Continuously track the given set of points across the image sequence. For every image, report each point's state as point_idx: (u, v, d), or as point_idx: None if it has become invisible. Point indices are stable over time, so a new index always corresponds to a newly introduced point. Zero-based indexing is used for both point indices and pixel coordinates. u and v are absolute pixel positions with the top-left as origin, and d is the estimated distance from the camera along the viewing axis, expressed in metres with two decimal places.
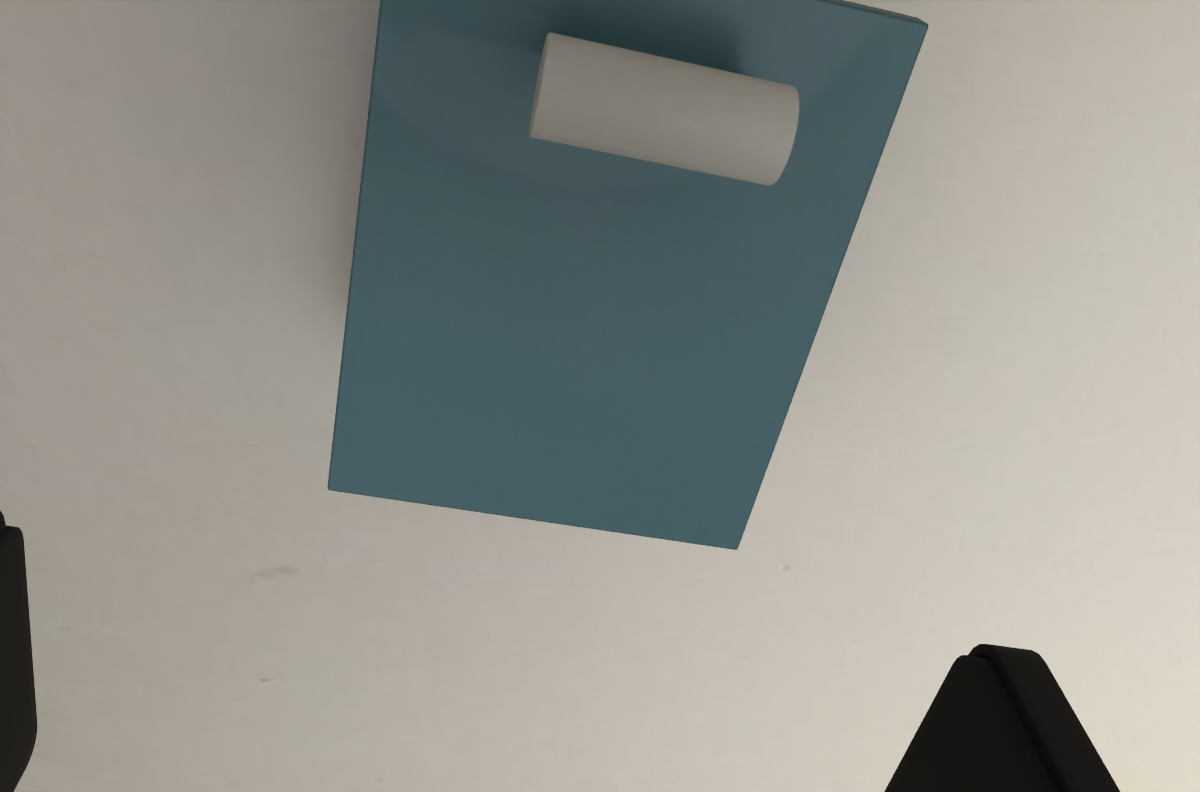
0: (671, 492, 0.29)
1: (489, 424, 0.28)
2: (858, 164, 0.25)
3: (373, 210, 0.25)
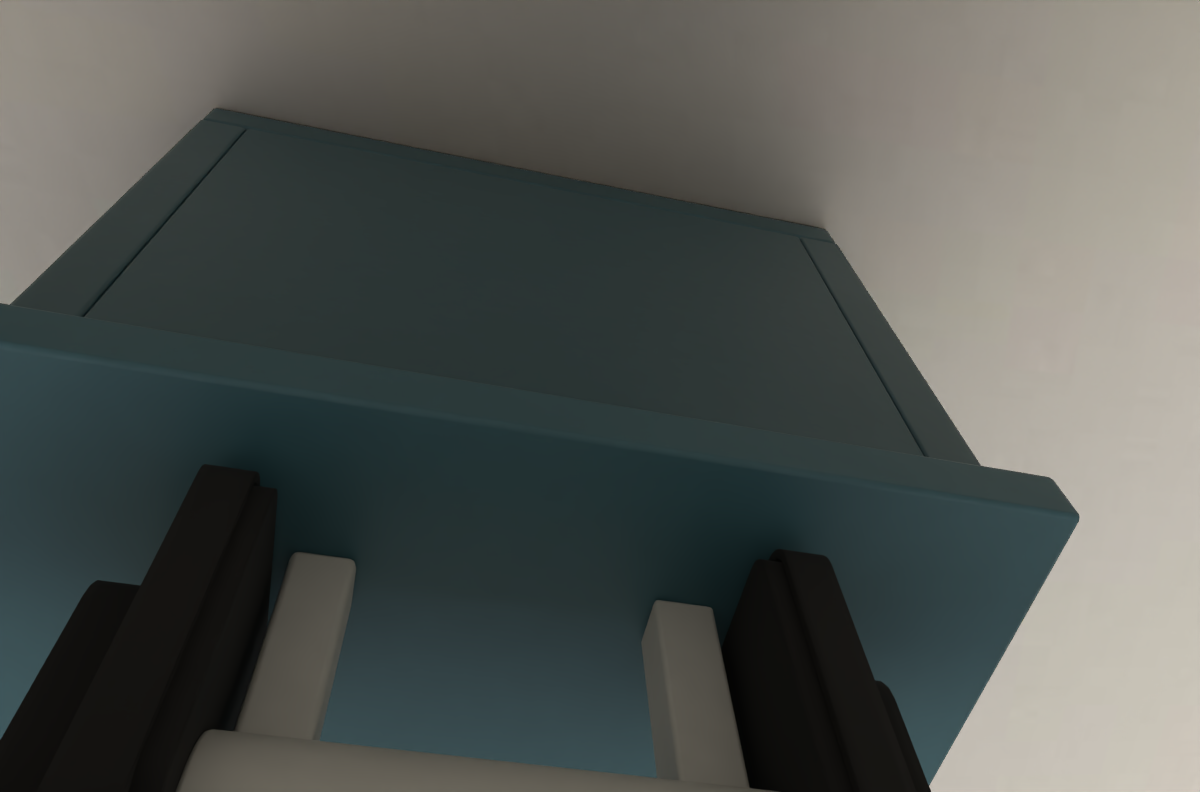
0: None
1: None
2: (927, 725, 0.13)
3: None
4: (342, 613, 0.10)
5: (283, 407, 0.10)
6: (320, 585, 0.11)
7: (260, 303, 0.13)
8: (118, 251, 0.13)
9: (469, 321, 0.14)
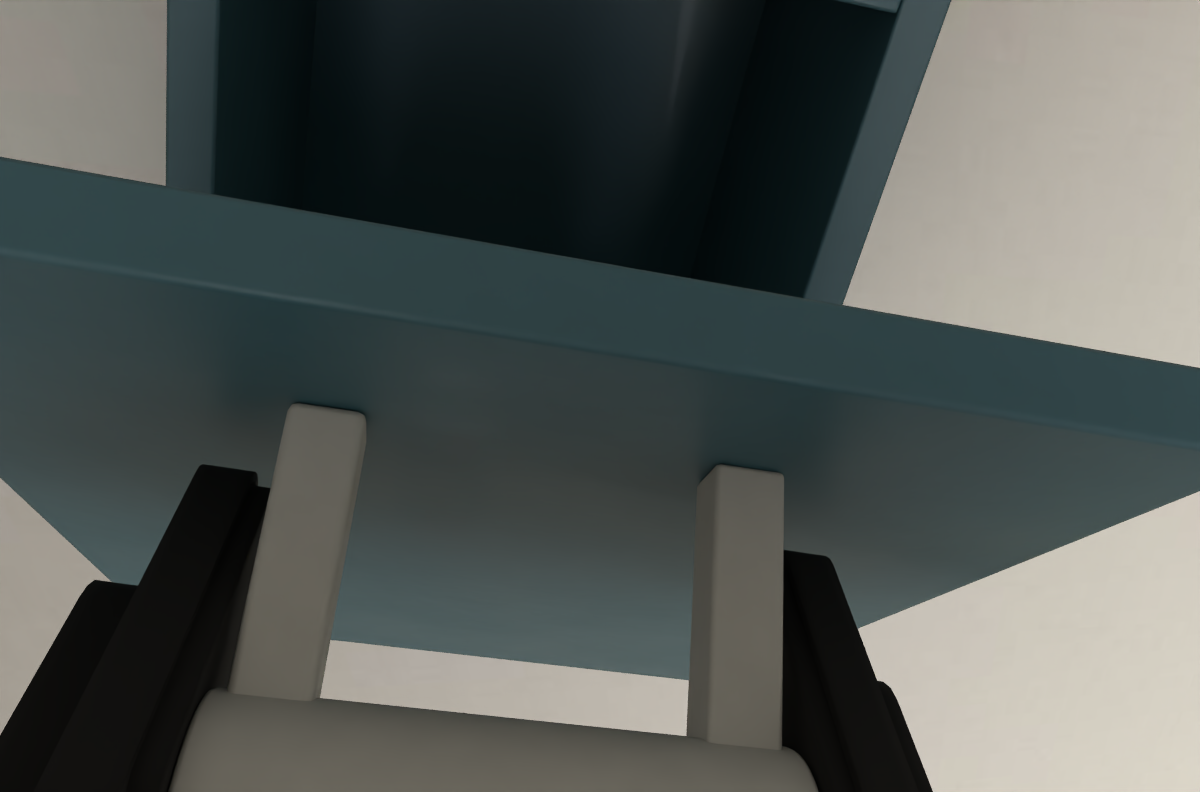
0: (629, 660, 0.21)
1: (353, 616, 0.19)
2: (1005, 550, 0.12)
3: (51, 503, 0.13)
4: (348, 501, 0.09)
5: (243, 304, 0.08)
6: (322, 460, 0.09)
7: None
8: None
9: None
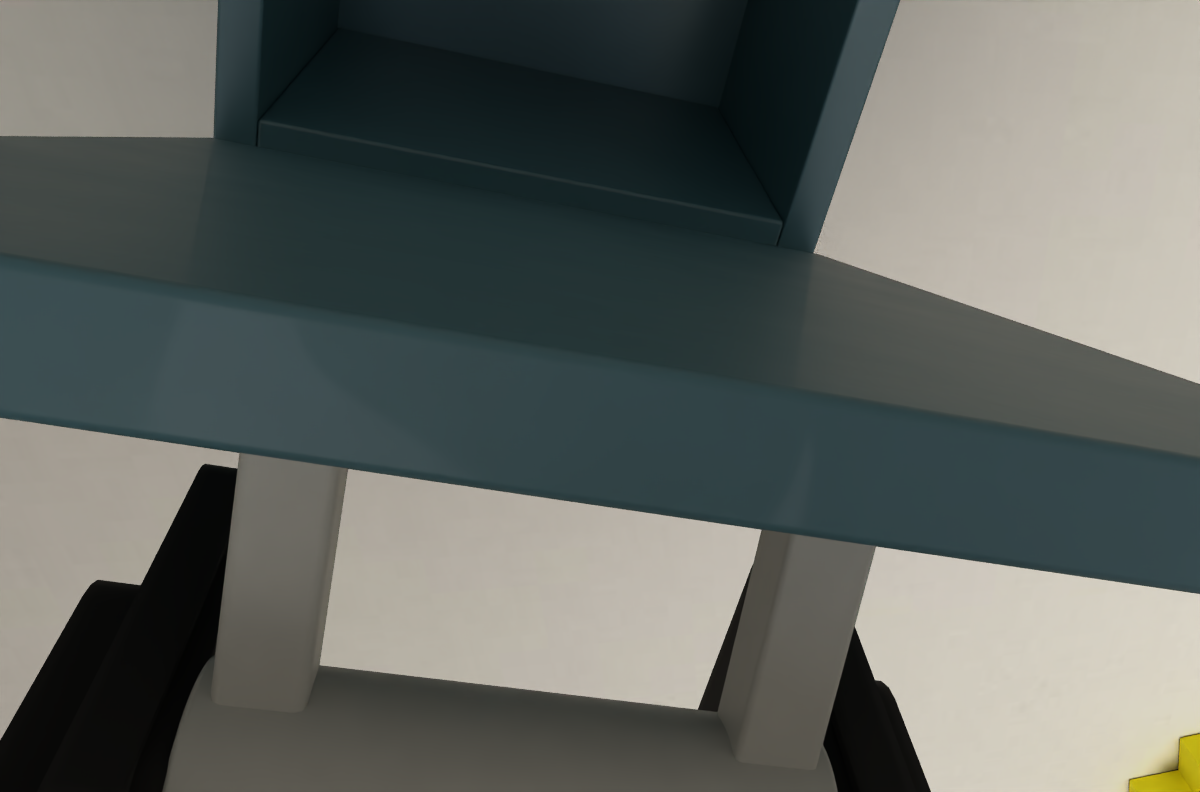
0: None
1: None
2: None
3: None
4: (333, 496, 0.07)
5: None
6: None
7: None
8: None
9: None
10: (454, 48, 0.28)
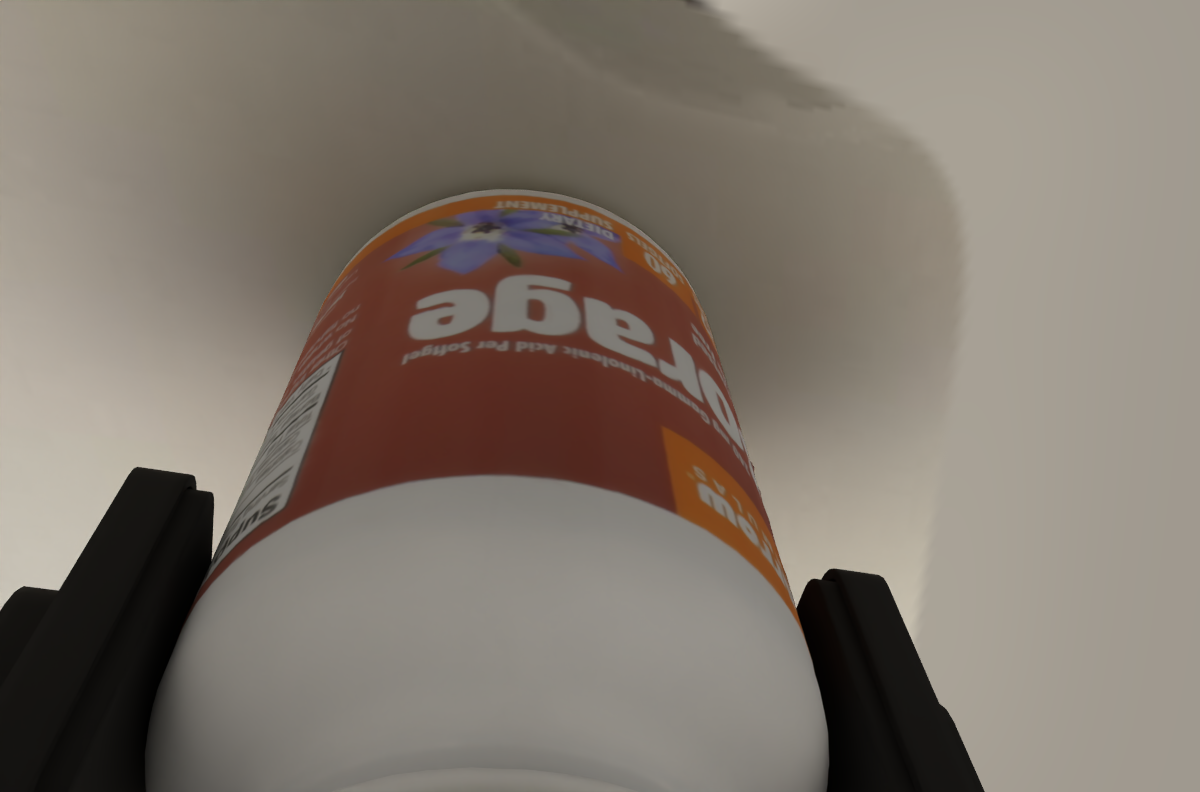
0: None
1: None
2: None
3: None
4: None
5: None
6: None
7: None
8: None
9: None
10: None
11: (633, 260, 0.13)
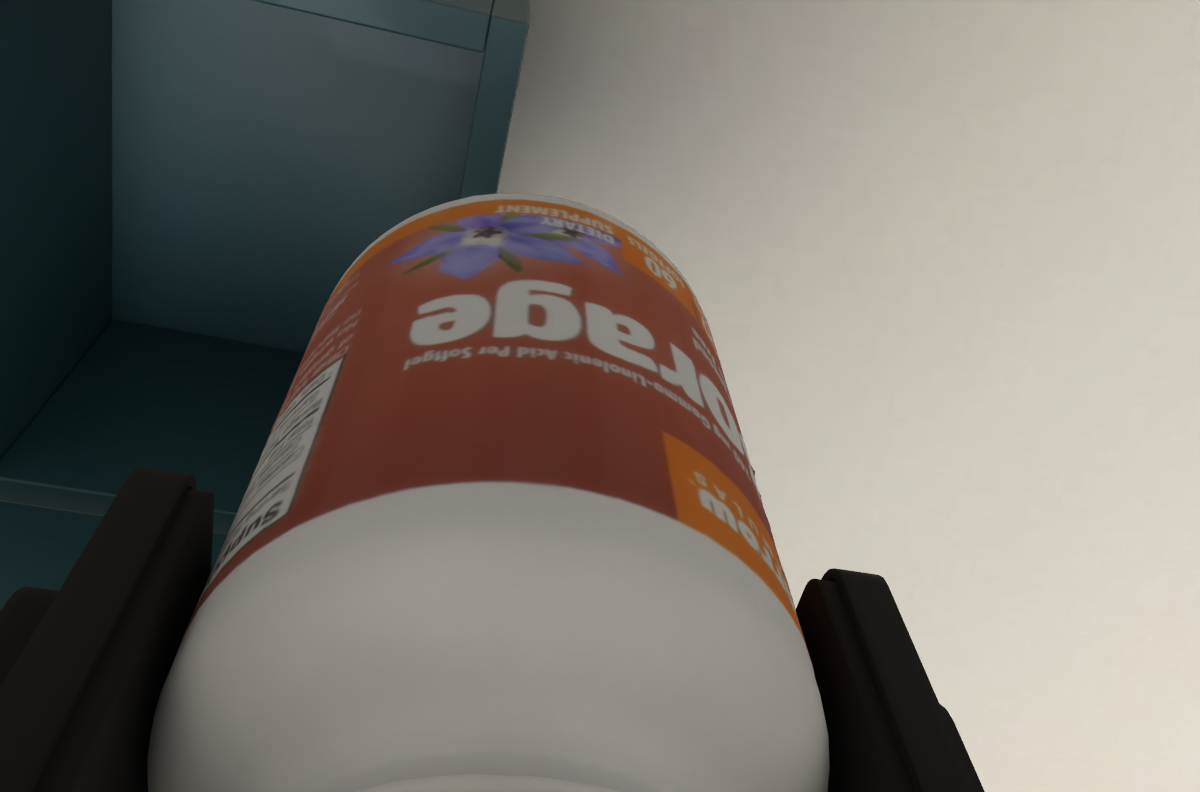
0: None
1: None
2: None
3: None
4: None
5: None
6: None
7: None
8: None
9: None
10: (209, 333, 0.34)
11: (634, 264, 0.13)
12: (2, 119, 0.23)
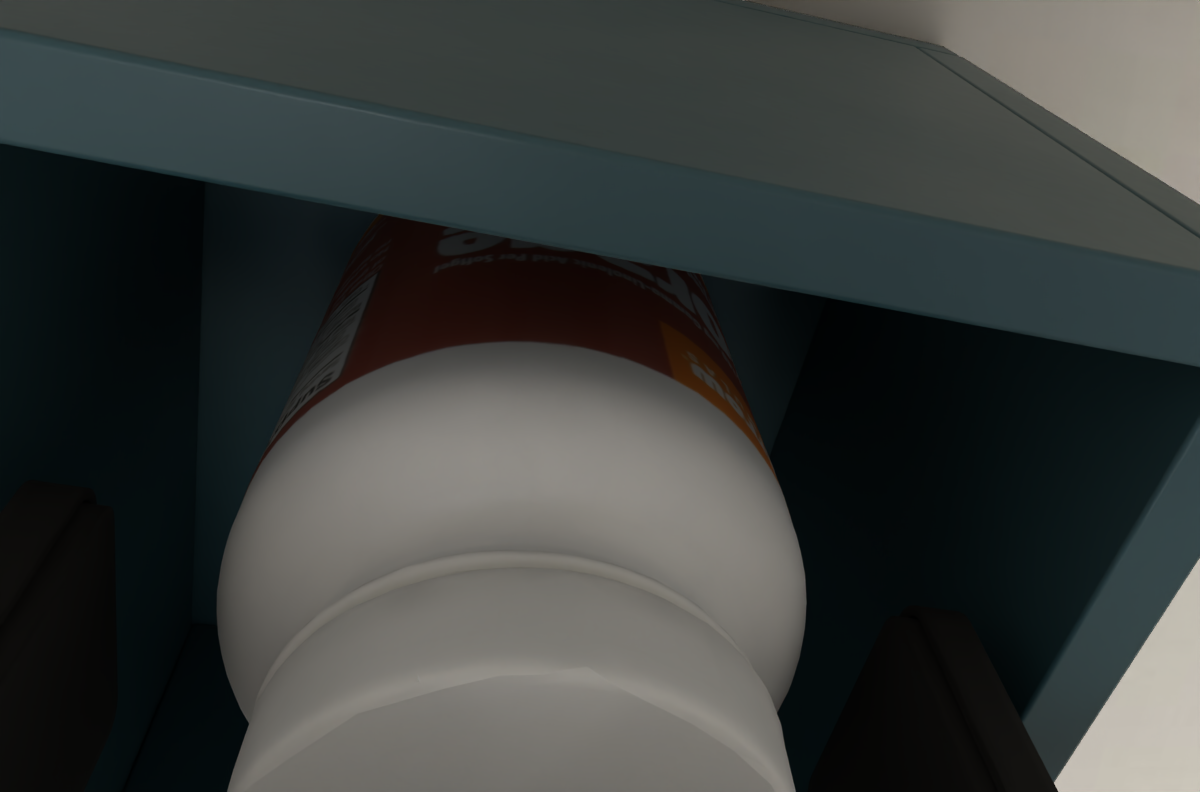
0: None
1: None
2: None
3: None
4: None
5: None
6: None
7: None
8: None
9: (520, 46, 0.10)
10: None
11: None
12: (16, 468, 0.11)
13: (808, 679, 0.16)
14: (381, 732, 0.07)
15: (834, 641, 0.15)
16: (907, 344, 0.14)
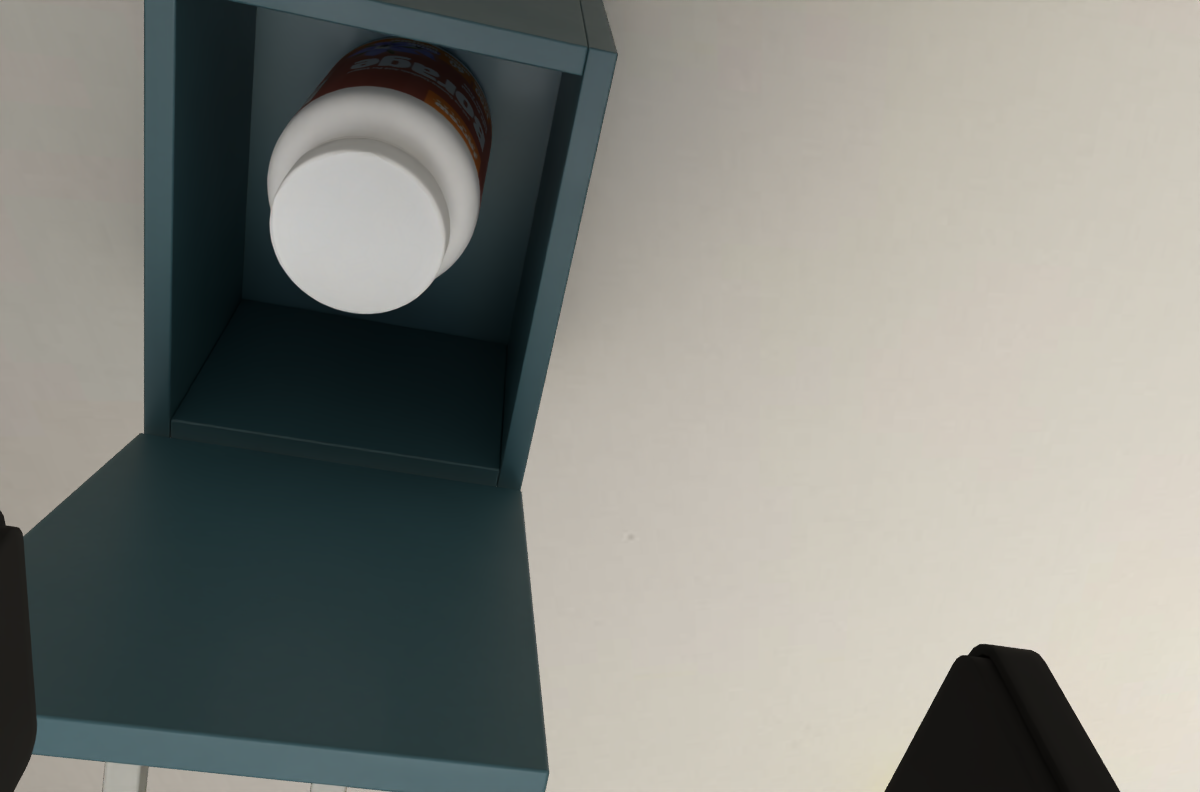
0: None
1: None
2: None
3: None
4: None
5: None
6: None
7: None
8: None
9: None
10: (322, 309, 0.40)
11: (442, 59, 0.34)
12: (195, 132, 0.30)
13: (529, 279, 0.35)
14: (315, 170, 0.26)
15: (535, 253, 0.34)
16: (560, 116, 0.33)
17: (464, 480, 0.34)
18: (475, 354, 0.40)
